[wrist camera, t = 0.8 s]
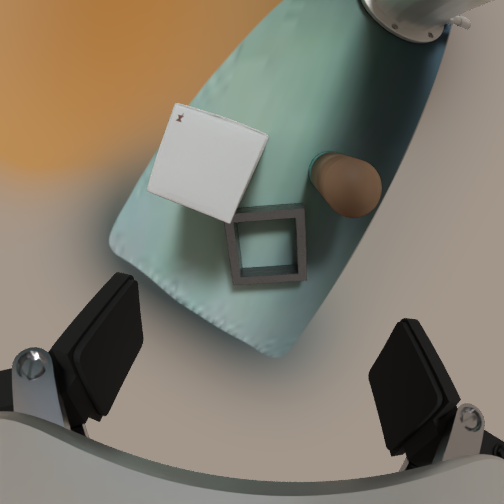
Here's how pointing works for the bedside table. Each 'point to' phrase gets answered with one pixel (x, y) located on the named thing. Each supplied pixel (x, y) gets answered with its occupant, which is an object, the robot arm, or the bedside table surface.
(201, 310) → the bedside table surface
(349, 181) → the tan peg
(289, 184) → the bedside table surface
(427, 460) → the robot arm
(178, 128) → the supplement box
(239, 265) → the socket
